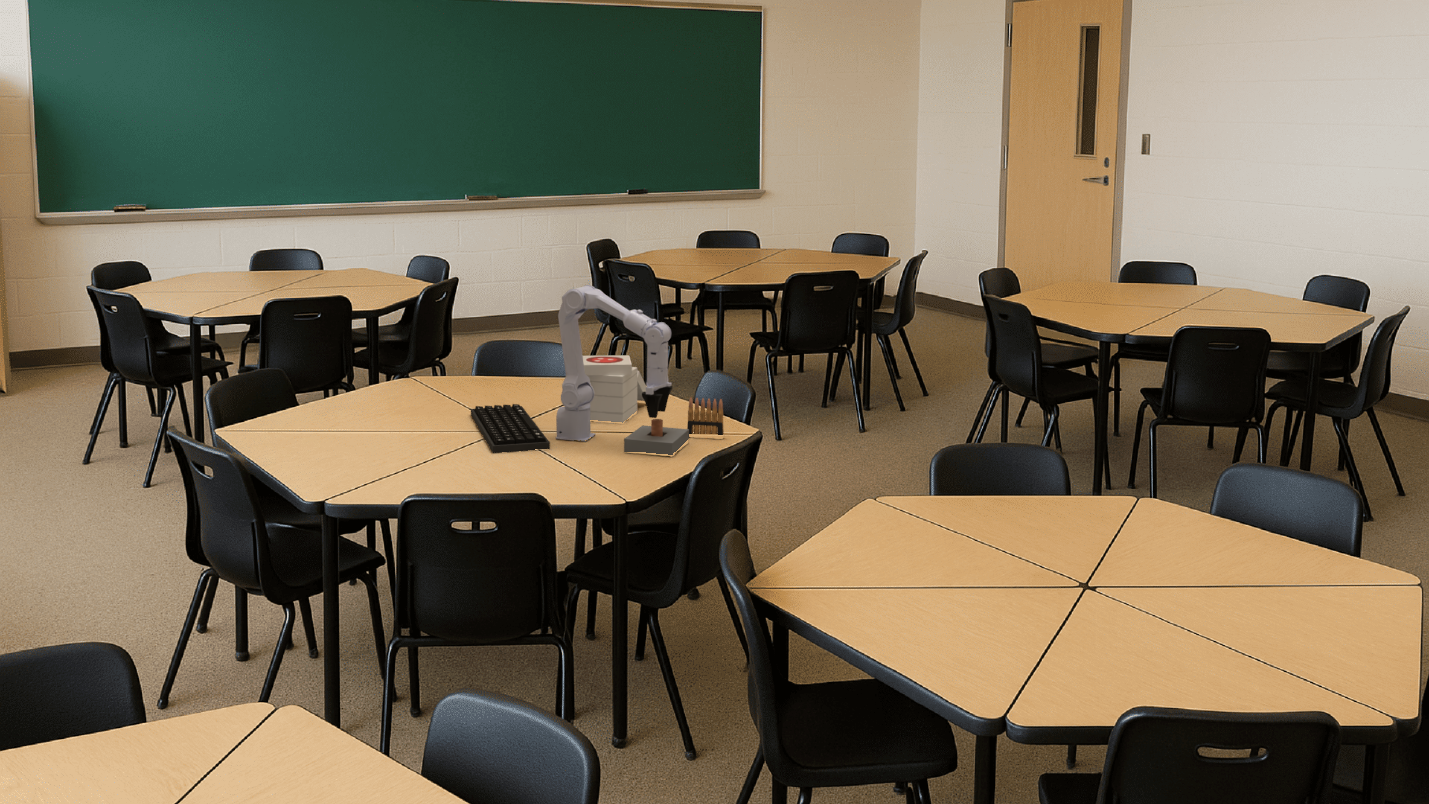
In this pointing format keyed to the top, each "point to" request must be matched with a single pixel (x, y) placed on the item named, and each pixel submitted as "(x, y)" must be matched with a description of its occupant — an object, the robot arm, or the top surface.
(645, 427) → the socket block
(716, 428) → the ammunition clip
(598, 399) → the pizza boxes
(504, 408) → the computer keyboard
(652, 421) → the peg
